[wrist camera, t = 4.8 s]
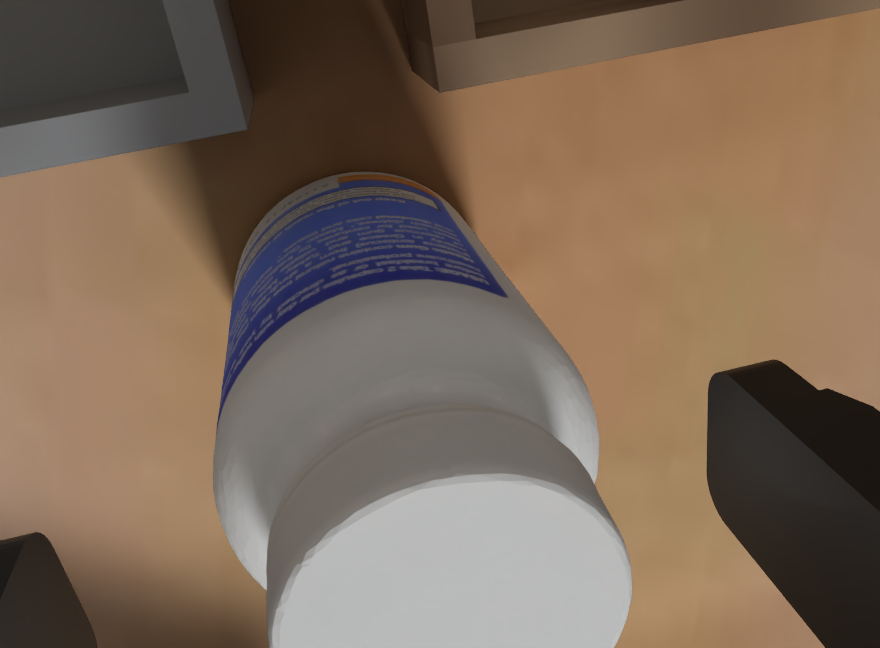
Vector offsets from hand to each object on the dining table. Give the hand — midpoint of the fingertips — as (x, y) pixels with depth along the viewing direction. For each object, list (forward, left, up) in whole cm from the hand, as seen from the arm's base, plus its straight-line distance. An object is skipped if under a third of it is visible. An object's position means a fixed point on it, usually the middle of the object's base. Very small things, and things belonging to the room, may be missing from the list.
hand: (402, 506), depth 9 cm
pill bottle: (0, 0, -8) cm, 8 cm away
